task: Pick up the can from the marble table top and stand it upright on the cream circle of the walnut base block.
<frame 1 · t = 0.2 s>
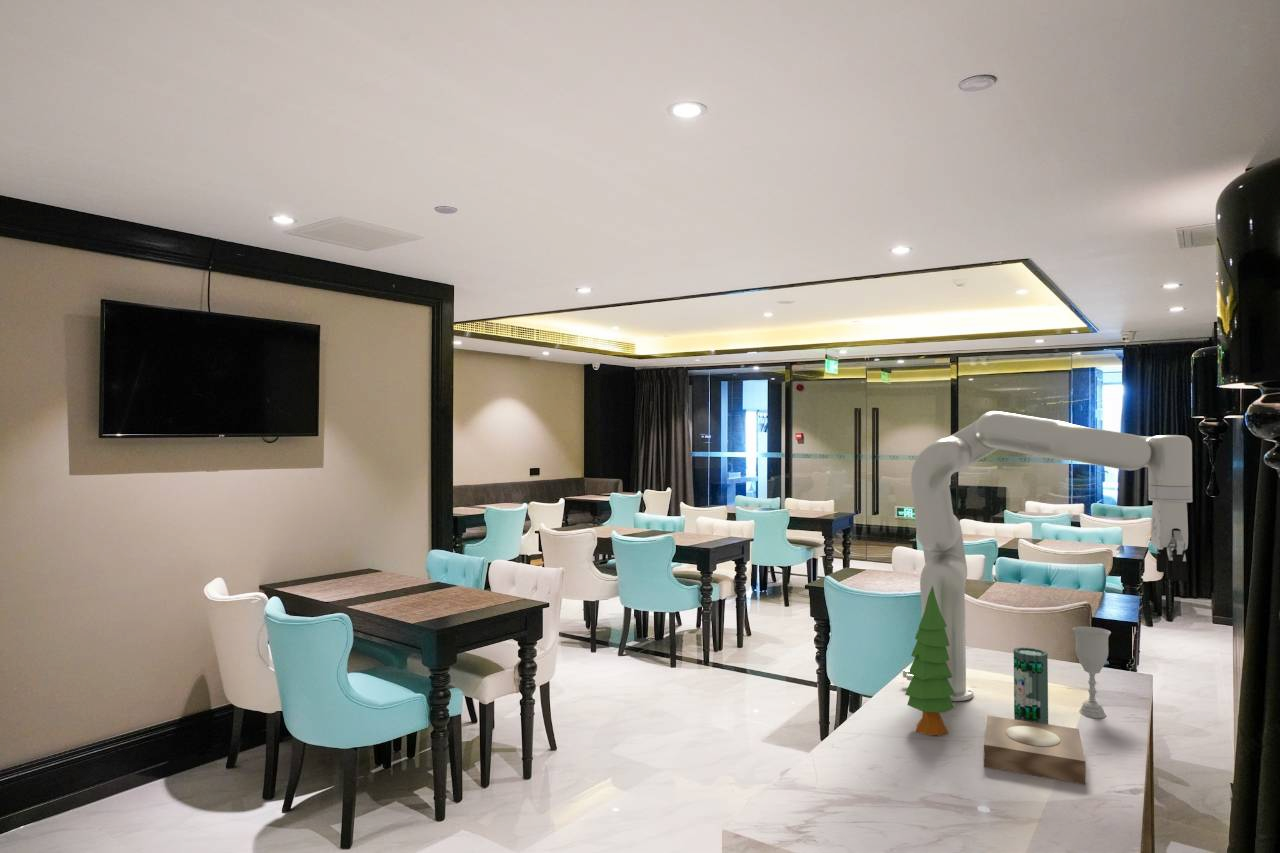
hand: (1171, 576, 157), 31 cm above the table, tool pointing down, fingers open, 9 cm apart
decorative tree: (928, 730, 155), on the table
walnut base: (1032, 757, 141), on the table
chalice: (1092, 714, 164), on the table
can: (1031, 724, 158), on the table
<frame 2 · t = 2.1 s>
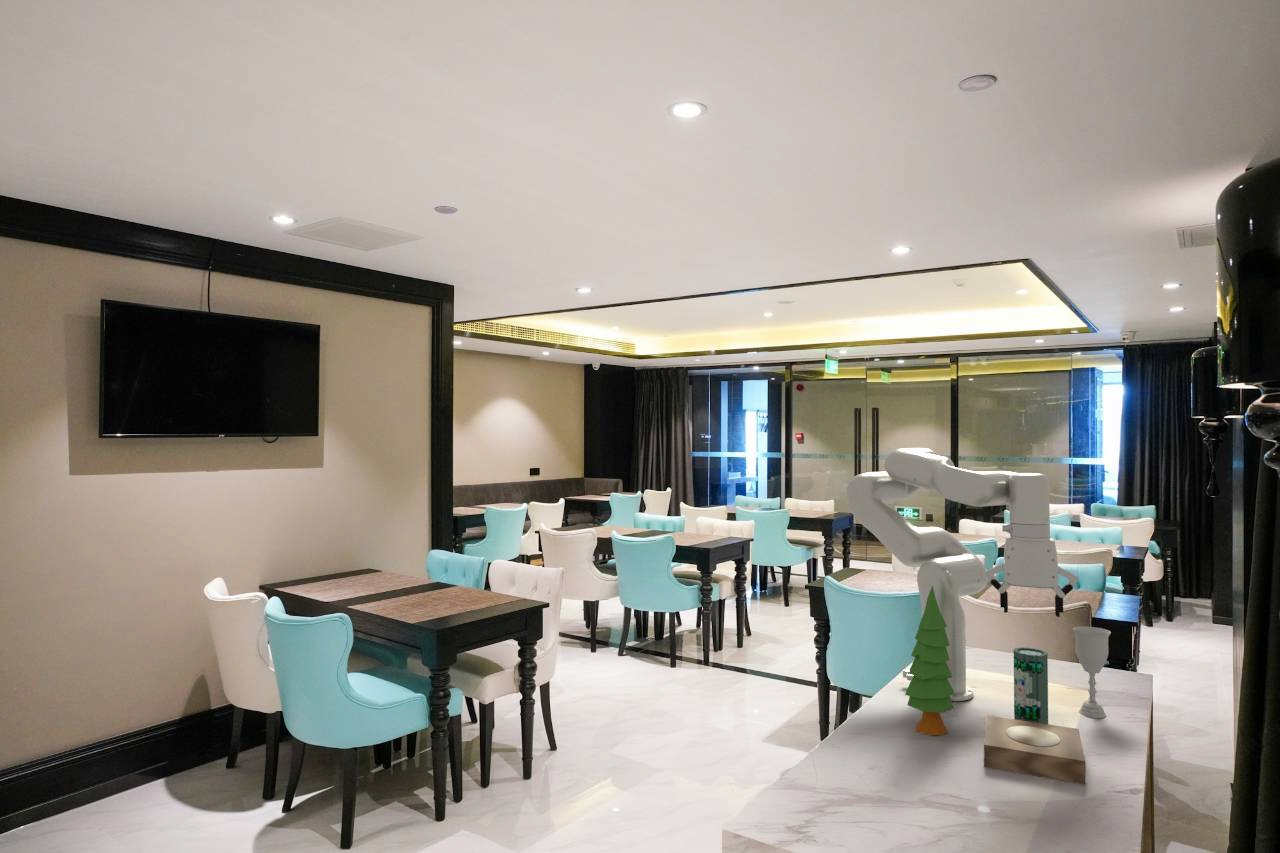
hand: (1031, 613, 158), 23 cm above the table, tool pointing down, fingers open, 9 cm apart
nothing on the table moved.
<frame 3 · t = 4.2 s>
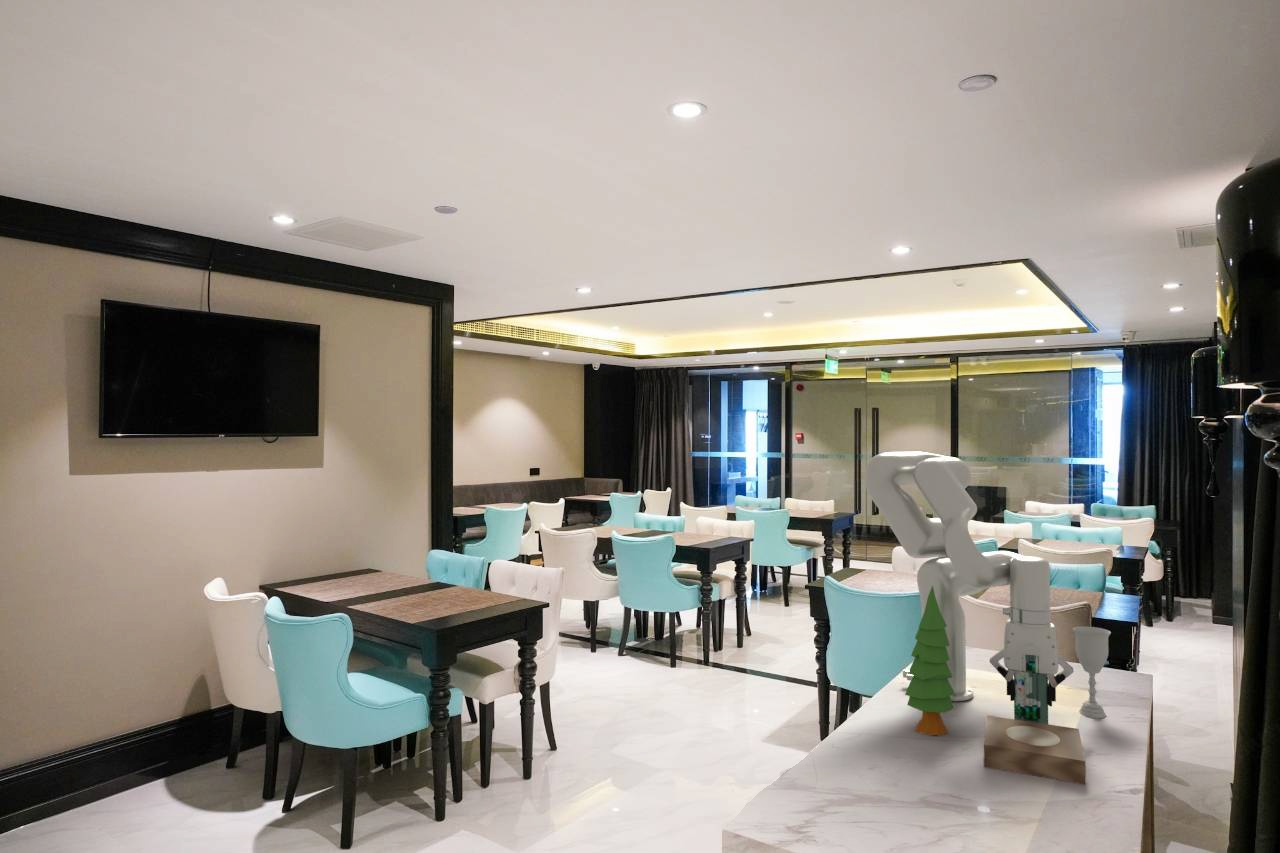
hand: (1030, 700, 158), 5 cm above the table, tool pointing down, fingers closed on can, 6 cm apart
can: (1031, 724, 158), on the table, touching gripper
everything else where it was.
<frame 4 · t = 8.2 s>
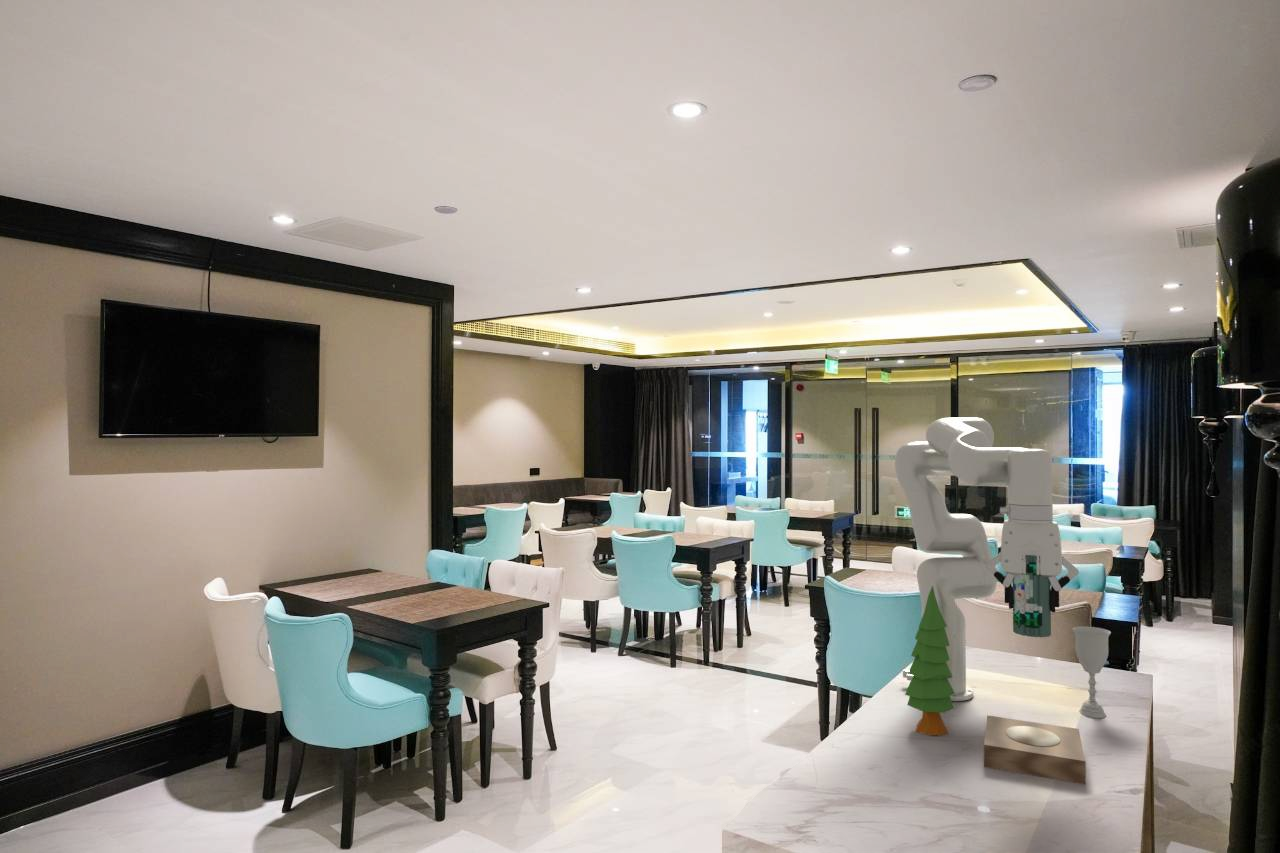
hand: (1031, 608, 142), 28 cm above the table, tool pointing down, fingers closed on can, 6 cm apart
can: (1031, 634, 142), point 23 cm above the table, touching gripper
everything else where it was.
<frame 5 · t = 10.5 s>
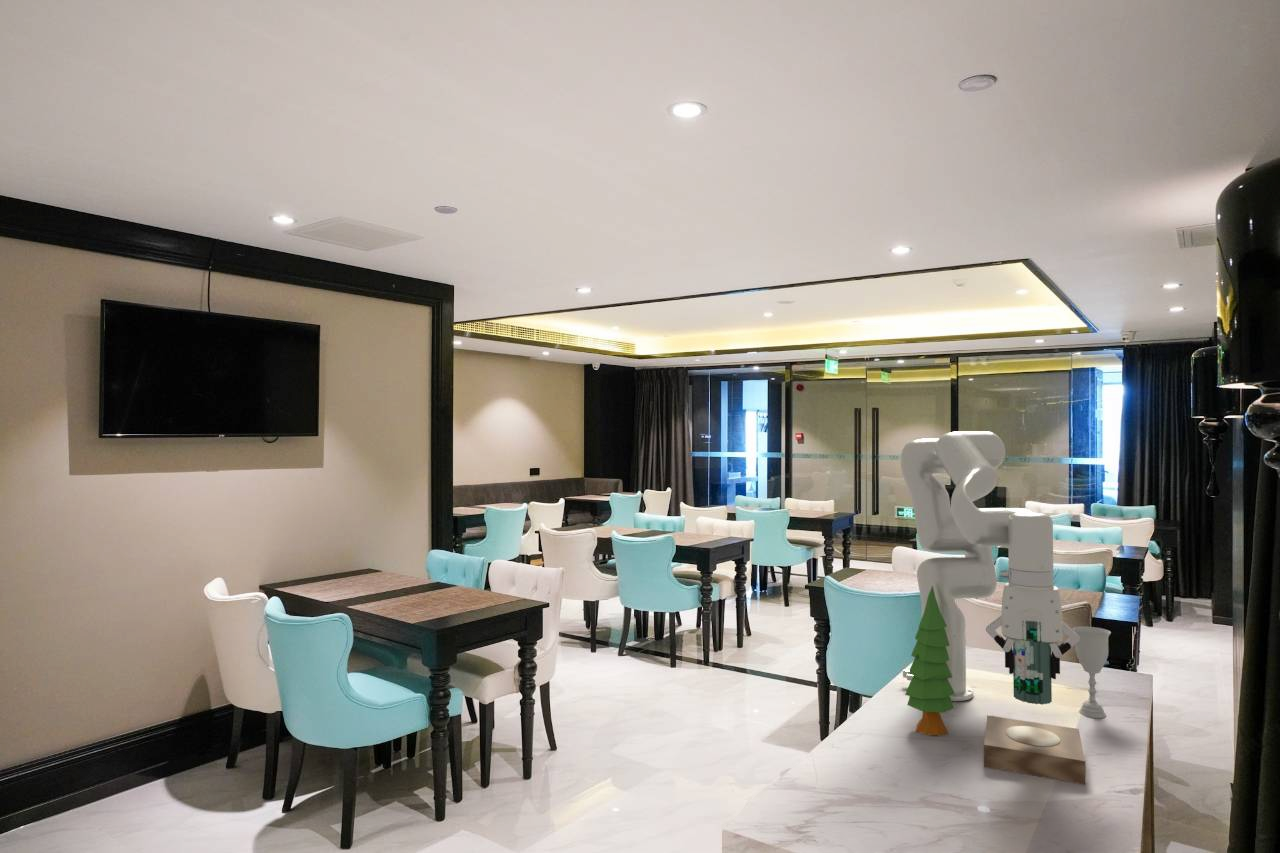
hand: (1032, 673, 141), 16 cm above the table, tool pointing down, fingers closed on can, 6 cm apart
can: (1032, 699, 141), point 11 cm above the table, touching gripper
everything else where it was.
when the fingers open (10 cm above the table, at t = 12.2 s): can drops 1 cm, resting on walnut base.
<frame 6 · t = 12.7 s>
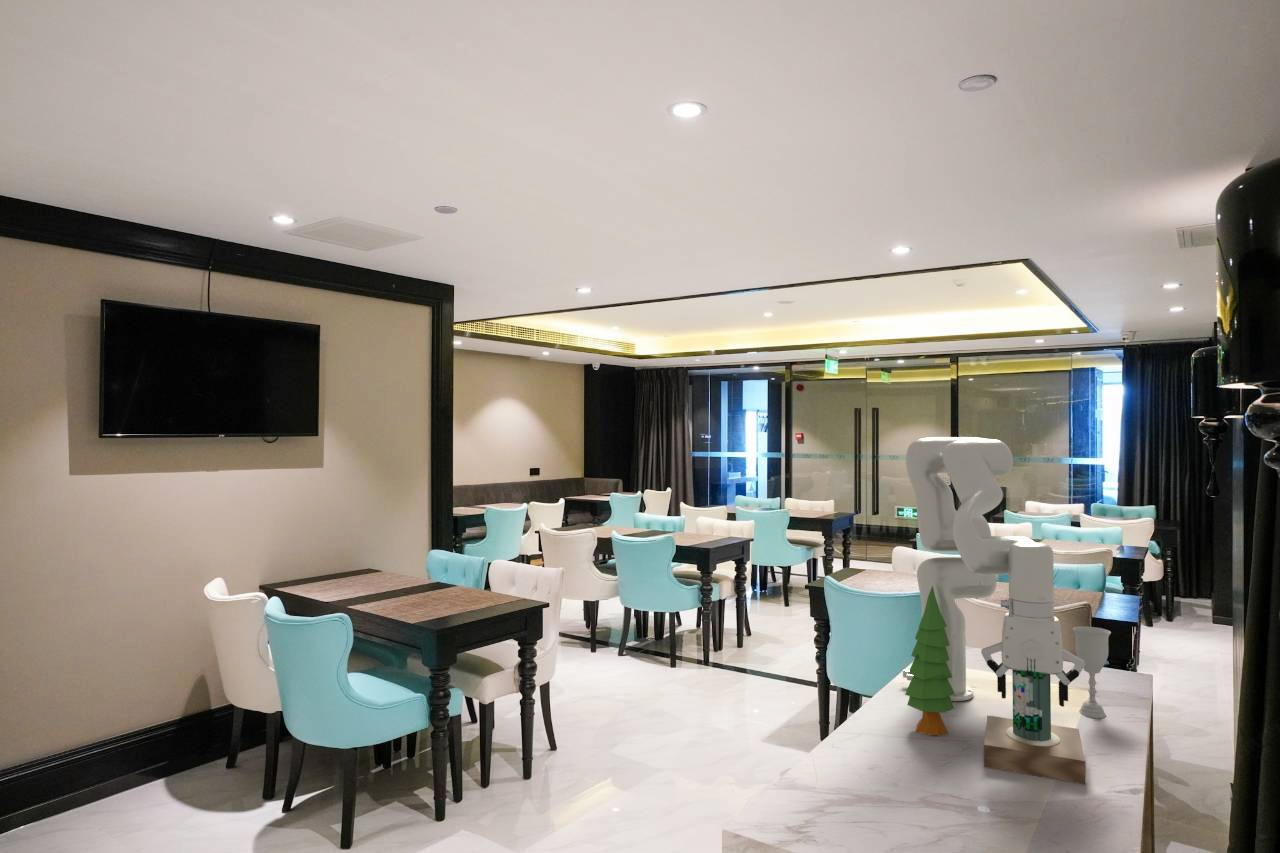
hand: (1032, 700, 141), 11 cm above the table, tool pointing down, fingers open, 9 cm apart
can: (1031, 735, 141), point 4 cm above the table, touching walnut base
everything else where it was.
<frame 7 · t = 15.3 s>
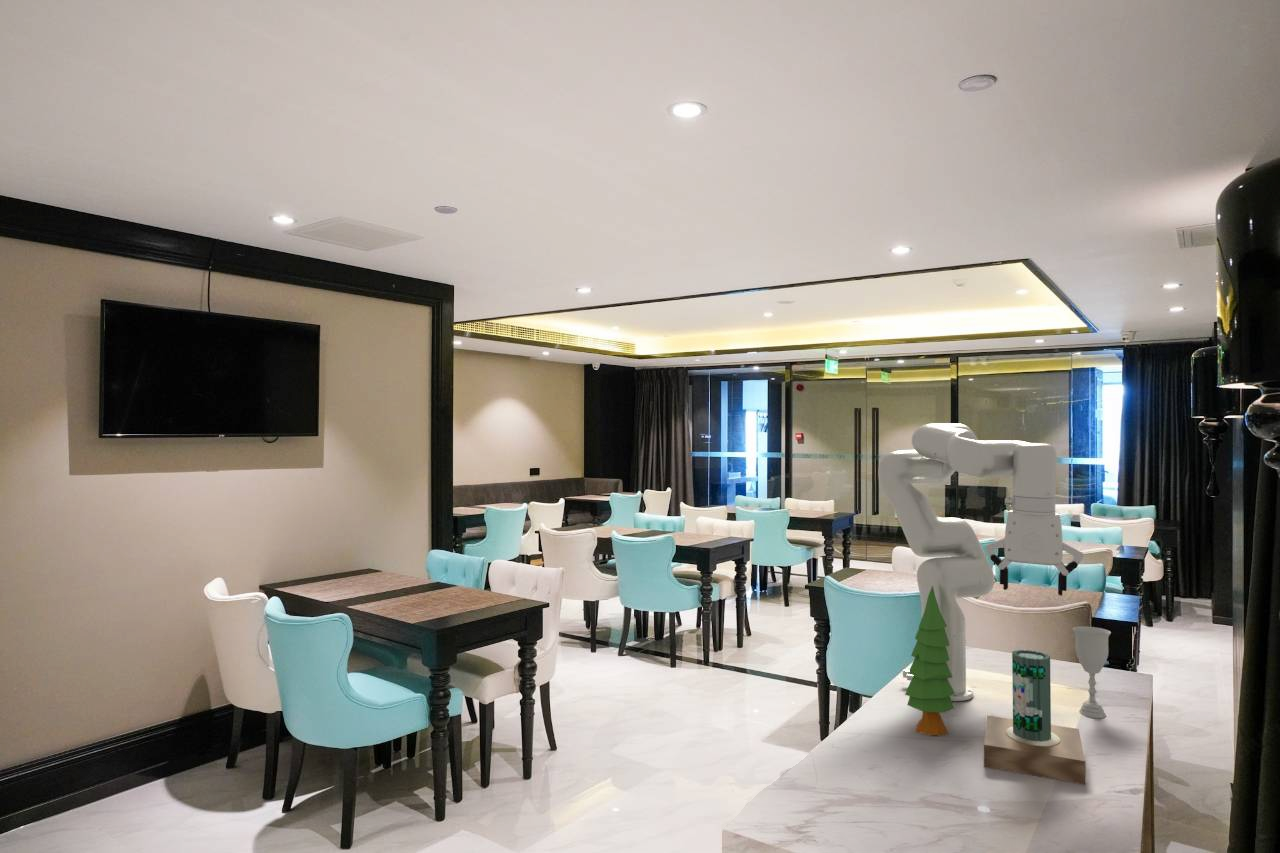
hand: (1032, 591, 150), 29 cm above the table, tool pointing down, fingers open, 9 cm apart
nothing on the table moved.
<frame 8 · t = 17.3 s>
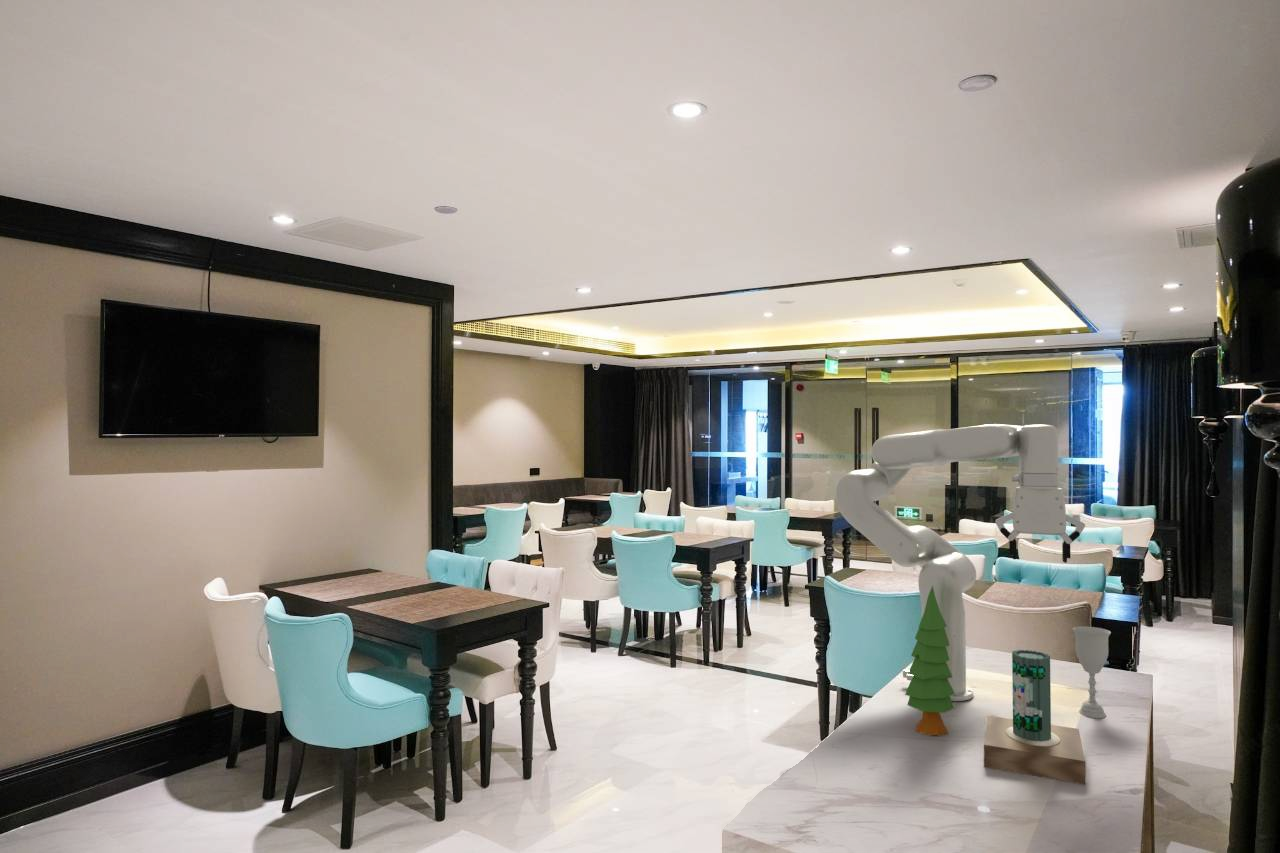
hand: (1039, 560, 164), 33 cm above the table, tool pointing down, fingers open, 9 cm apart
nothing on the table moved.
at the end: can inside the target area on the walnut base (0.2 cm from its centre), point 4.1 cm above the walnut base's base; can tilted 0°; the gripper is holding nothing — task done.
